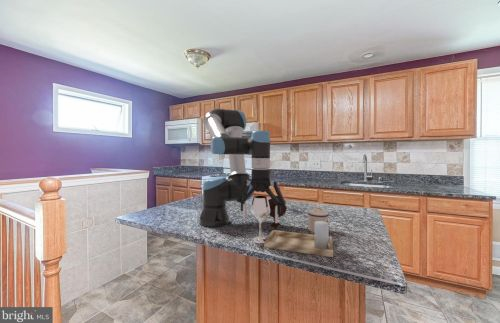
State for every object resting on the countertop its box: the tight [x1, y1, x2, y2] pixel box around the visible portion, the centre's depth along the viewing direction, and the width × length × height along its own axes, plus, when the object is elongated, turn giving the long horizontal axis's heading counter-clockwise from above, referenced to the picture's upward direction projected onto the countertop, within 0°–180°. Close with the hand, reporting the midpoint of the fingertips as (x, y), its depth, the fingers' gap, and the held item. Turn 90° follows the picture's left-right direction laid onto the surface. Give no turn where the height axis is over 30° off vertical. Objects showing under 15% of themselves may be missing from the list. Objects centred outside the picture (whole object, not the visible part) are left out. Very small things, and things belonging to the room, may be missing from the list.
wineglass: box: [249, 195, 270, 244], centre depth 91 cm, size 8×8×18 cm
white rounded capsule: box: [313, 221, 330, 250], centre depth 82 cm, size 5×5×9 cm
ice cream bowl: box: [268, 195, 288, 228], centre depth 111 cm, size 11×11×15 cm
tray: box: [263, 229, 334, 258], centre depth 85 cm, size 24×14×3 cm, turn 71°
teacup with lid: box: [307, 205, 330, 233], centre depth 103 cm, size 12×9×12 cm
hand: (260, 220), depth 91 cm, fingers open, 13 cm apart
